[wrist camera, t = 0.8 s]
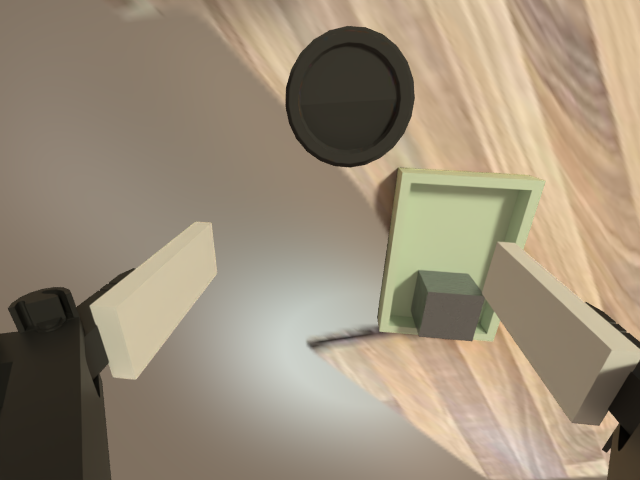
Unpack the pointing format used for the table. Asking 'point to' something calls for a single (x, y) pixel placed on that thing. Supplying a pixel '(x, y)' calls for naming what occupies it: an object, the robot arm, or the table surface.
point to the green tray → (451, 234)
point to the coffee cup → (350, 96)
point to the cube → (446, 305)
